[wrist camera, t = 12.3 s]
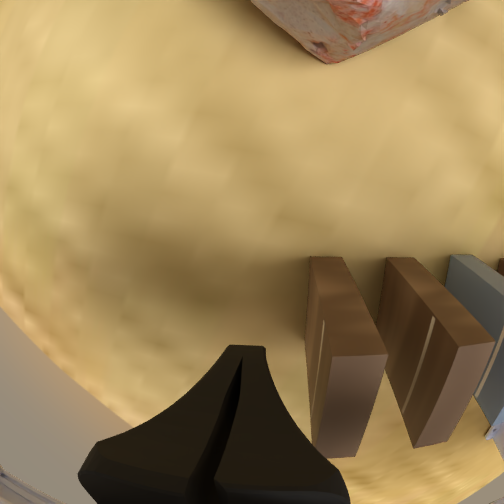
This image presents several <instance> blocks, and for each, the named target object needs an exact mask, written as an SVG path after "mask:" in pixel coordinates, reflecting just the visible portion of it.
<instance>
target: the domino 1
mask: <svg viewBox="0 0 504 504" xmlns="http://www.w3.org/2000/svg"><path fill="white" fill-rule="evenodd" d="M305 351H306V363H307V375H308V388H309V402H310V417H311V434H312V445H313V446H314V447H315V448H316V449H317V450H318V451H319V452H320V453H321V454H322V455H323V456H324V457H325V458H343V457H355V456H356V453H357V451H358V448H359V445H360V443H361V440H362V437H363V435H364V432H365V429H366V426H367V423H368V421H369V418H370V415H371V412H372V409H373V406H374V403H375V399H376V396H377V393H378V390H379V386H380V383H381V379H382V376H383V372H384V369H385V365H386V361H387V358H388V352H387V350H386V348H385V345H384V343H383V341H382V339H381V337H380V334H379V332H378V330H377V328H376V326H375V324H374V321H373V319H372V317H371V315H370V313H369V311H368V309H367V307H366V304H365V302H364V300H363V298H362V296H361V294H360V292H359V290H358V288H357V286H356V284H355V282H354V280H353V278H352V276H351V274H350V272H349V270H348V268H347V266H346V264H345V262H344V260H343V258H342V257H310V269H309V287H308V303H307V317H306V331H305Z"/></svg>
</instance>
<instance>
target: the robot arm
mask: <svg viewBox="0 0 504 504" xmlns="http://www.w3.org/2000/svg"><path fill="white" fill-rule="evenodd" d="M492 438H493V440H494V442H495V444H496V446H497V448H498V450H499V452H500V454H501V456H502V458H503V460H504V422H503V423H500V424H497V425H494V426H491V428H490V429H489V431H488V432H487V434H486V435H485V439H486V440H489V439H492ZM78 479H79V481H80V483H81V484H82V486H83V487H84V488H85V490H86V491H87V492H88V493H89V494H90V496H91V497H92V498H93V499H94V500H95V501H96V502H97V504H351V503H350V497H349V494H348V490H347V487H346V485H345V482H344V480H343V478H342V475H341V473H340V471H339V470H338V469H337V468H336V467H335V466H334V465H333V464H331V463H330V462H329V461H328V460H327V459H326V458H325V457H324V456H323V455H322V454H321V453H320V452H319V451H318V450H317V449H316V448H315V447H314V446H313V445H312V444H311V442H310V441H309V440H308V439H307V438H306V436H305V435H304V434H303V433H302V431H301V430H300V429H299V428H298V426H297V425H296V423H295V422H294V420H293V419H292V417H291V416H290V414H289V412H288V411H287V409H286V407H285V406H284V404H283V402H282V400H281V398H280V396H279V394H278V392H277V390H276V387H275V385H274V382H273V380H272V377H271V374H270V371H269V368H268V364H267V360H266V348H264V347H263V346H249V345H229V346H228V347H227V348H226V349H225V351H224V352H223V353H222V355H221V356H220V357H219V359H218V360H217V361H216V362H215V364H214V365H213V366H212V367H211V368H210V370H209V371H208V372H207V373H206V374H205V375H204V376H203V377H202V378H201V380H200V381H198V382H197V383H196V384H195V385H194V386H193V387H192V388H191V389H190V390H189V391H188V392H187V393H186V394H185V395H184V396H183V397H181V398H180V399H179V400H178V401H176V402H175V403H174V404H173V405H171V406H170V407H168V408H167V409H166V410H164V411H163V412H161V413H160V414H158V415H157V416H155V417H153V418H152V419H150V420H148V421H147V422H145V423H143V424H141V425H139V426H137V427H135V428H133V429H130V430H128V431H126V432H124V433H121V434H119V435H116V436H113V437H110V438H107V439H105V440H102V441H98V442H97V443H96V444H95V446H94V447H93V448H92V450H91V451H90V453H89V454H88V456H87V458H86V460H85V462H84V463H83V465H82V467H81V469H80V471H79V472H78ZM0 504H65V503H63V502H61V501H59V500H57V499H55V498H53V497H51V496H49V495H47V494H45V493H43V492H41V491H39V490H37V489H35V488H34V487H32V486H30V485H28V484H27V483H25V482H23V481H21V480H20V479H18V478H16V477H15V476H13V475H11V474H10V473H8V472H7V471H5V470H4V469H3V467H2V466H1V465H0ZM489 504H504V497H502V498H500V499H498V500H496V501H493V502H491V503H489Z"/></svg>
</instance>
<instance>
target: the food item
mask: <svg viewBox="0 0 504 504" xmlns="http://www.w3.org/2000/svg"><path fill="white" fill-rule="evenodd" d="M466 1H469V0H251V2H252V3H253V4H254V5H255V6H256V7H257V8H259V9H260V10H261V11H262V12H263V13H264V14H265V15H266V16H267V17H269V18H270V19H271V20H272V21H273V22H274V23H275V24H276V25H278V26H279V27H281V28H282V29H284V30H285V31H286V32H287V33H289V34H290V35H291V36H292V37H293V38H295V39H296V40H297V41H298V42H299V43H300V44H301V45H302V46H303V47H304V48H305V49H306V50H307V51H309V52H310V53H312V54H313V55H315V56H316V57H317V58H319V59H320V60H322V61H323V62H325V63H326V64H329V63H339V62H341V61H343V60H346V59H348V58H351V57H354V56H356V55H359V54H361V53H363V52H365V51H368V50H370V49H372V48H375V47H377V46H379V45H381V44H383V43H385V42H387V41H389V40H391V39H394V38H396V37H398V36H400V35H402V34H404V33H405V32H407V31H409V30H411V29H413V28H415V27H417V26H419V25H421V24H423V23H425V22H427V21H429V20H431V19H433V18H435V17H437V16H438V15H443V14H445V13H447V12H448V10H450V9H452V8H454V7H456V6H458V5H460V4H461V3H463V2H466Z"/></svg>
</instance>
